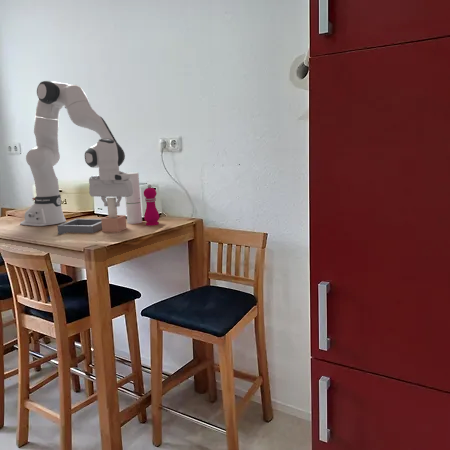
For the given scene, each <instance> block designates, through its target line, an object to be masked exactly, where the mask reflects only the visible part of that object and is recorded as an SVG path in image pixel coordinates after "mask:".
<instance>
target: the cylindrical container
mask: <svg viewBox="0 0 450 450" xmlns="http://www.w3.org/2000/svg"><path fill="white" fill-rule="evenodd" d="M126 173H127V174H129V175H130V179H129V180H130V181H131V183H132V188H133V194H132V196H129V197H124V198H125V208H126V224H132V225H135V224H140V223H143V215H142V202H141V191H140V189H141V188H140V177H139V176H140V173H139V172H136V171H135V172H134V171H133V172H132V171H131V172H126Z"/></svg>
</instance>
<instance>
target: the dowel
mask: <svg viewBox="0 0 450 450" xmlns="http://www.w3.org/2000/svg"><path fill="white" fill-rule="evenodd" d="M106 201H107V206H106V207H107V216H108V217H109V218H118V217H117V215H118V208H117V207H115V203H116V202H117V197H106Z"/></svg>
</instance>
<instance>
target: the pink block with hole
mask: <svg viewBox="0 0 450 450" xmlns="http://www.w3.org/2000/svg"><path fill="white" fill-rule="evenodd" d="M117 217H118V218H109V217H108V215H107V216H104V217H101V218H100V219H101V222H102V229H101V230H102V232H104V233H105V232H106V233H108V232H109V233H110V232H111V233H119V232H122V231H124V230H125V229H127V227H128V226H127V214H126V215H125V214H117Z"/></svg>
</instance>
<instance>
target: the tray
mask: <svg viewBox="0 0 450 450" xmlns="http://www.w3.org/2000/svg"><path fill="white" fill-rule="evenodd" d="M56 228H57V229H56V230H57V235H65V234H67V233H73V234H74V233H76V234H77V233H78V234H80V233H81V234H86V233H87V234H94V233H96V232H99V231H100V230H102V222H101V218H75V219H72V220H69V221H65V222H63V223H59V224H56Z"/></svg>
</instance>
